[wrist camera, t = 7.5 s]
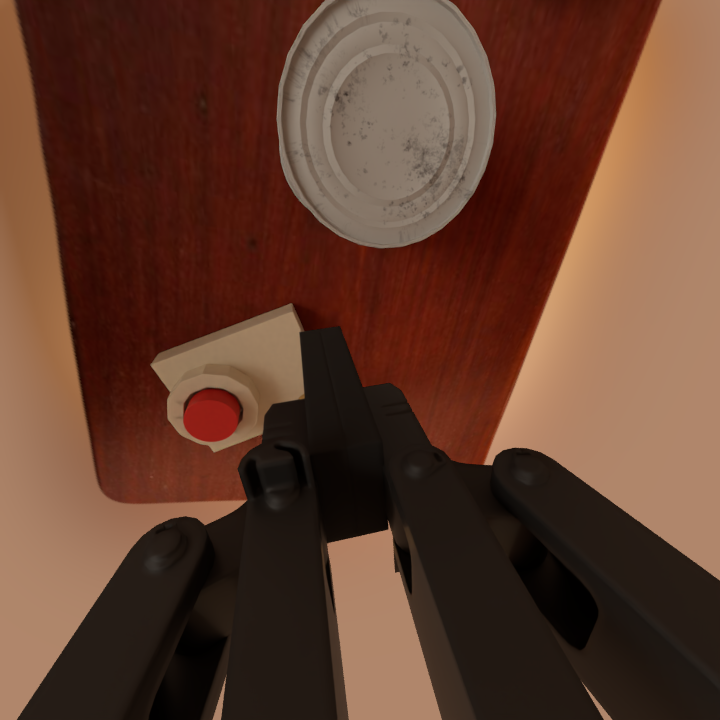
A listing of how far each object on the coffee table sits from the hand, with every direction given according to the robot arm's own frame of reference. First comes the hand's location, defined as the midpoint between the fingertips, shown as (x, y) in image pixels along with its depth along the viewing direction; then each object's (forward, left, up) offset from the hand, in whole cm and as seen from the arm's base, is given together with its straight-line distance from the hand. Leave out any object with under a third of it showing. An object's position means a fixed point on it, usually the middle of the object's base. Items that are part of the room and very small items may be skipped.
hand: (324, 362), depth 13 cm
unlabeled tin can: (-6, +6, -18) cm, 20 cm away
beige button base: (+8, -8, -18) cm, 21 cm away
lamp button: (+8, -11, -14) cm, 19 cm away
